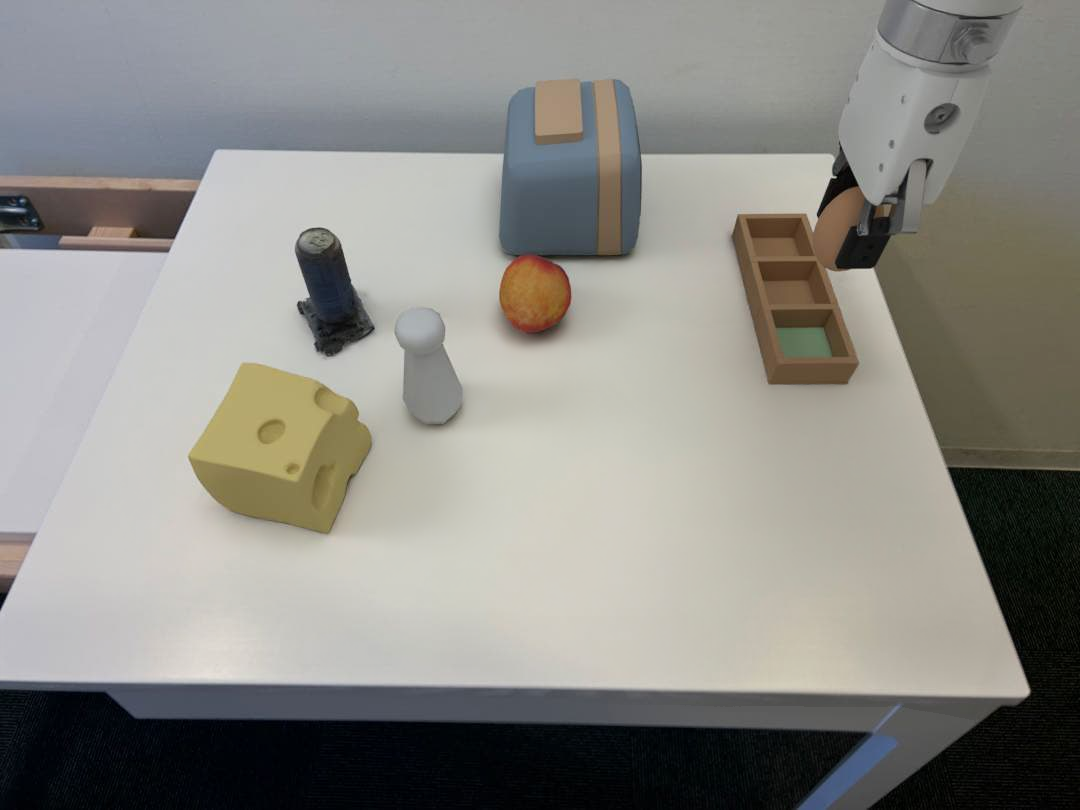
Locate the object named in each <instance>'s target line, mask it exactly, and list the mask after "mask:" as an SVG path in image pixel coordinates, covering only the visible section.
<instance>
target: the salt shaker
mask: <svg viewBox="0 0 1080 810" xmlns="http://www.w3.org/2000/svg"><path fill="white" fill-rule="evenodd" d="M394 335H395V339H396V340H397V342H398V344H399V347H400V348H401V349H402V350H403V355H404V356H403V381H402V383H403V384H402V385H403V386H402V387H403V388H402V400H403V402H404V404H405V406H406V408H407V410H408V412H409V413H410V414H412V415H413V416H415V417H416V418H417V419H418V420H420V421H421V422H423V423H424V424H425V425H429V424H431V425H434V424H435V425H444V424H445V423H447V421H449V420H450V419H451V418H452V417H453V416H454V415H455V414H457V412H458V410H459V408H460V406H461V404H462V403H463V395H464V394H463V393H464V388H463V385H462V384H461V381H460V380H459V378H458V375H457V373H456V370H455V368H454V366H453V363H452V362H451V360H450V357H449V355H448V353H447V350H446V348H445V346H444V344H443V343H444V342H445V339H446V338H445V337H446V325H445V322H444V320H443V318H442V316H441V314H440V313H439V312H437V311H436V310H434V309H432V308H430V307H425V306H418V307H412V308H410V309H407V310H405V311H404V312H402V313H401V314H400V316H398V317H397V318H396V321H395V325H394Z"/></svg>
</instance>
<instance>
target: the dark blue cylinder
mask: <svg viewBox="0 0 1080 810" xmlns="http://www.w3.org/2000/svg"><path fill="white" fill-rule="evenodd" d="M294 244H295V245H294V253H295V257H296V259H297V262H298V267H299V269H300V272H301V276H302V278H303V281H304V283H305V287H306V290H307V294H308V296H309V297H306V298H305V300H297V303H296V307H297V310H298V312H299V314H301V316H304V317H305V319H306V321H307V324H308V326H309V328H310V330H311V331H312V334H313V337H314V339H315V342H314V343H313V345H314V347H315V350H316V352H318V353H319V352H321V353H320V354H321V355H323V356H324V354H325V355H329V356H333V355H334V354H337V353H338V352H339V351H340V350H343V344H342V342H343V341H346V340H347V339H349V342H353V341H358V340H359V339H362V338H363V337H364V336H365V335H367V334H368V333H369V332H371V331H372V330H376V329H375V325H374V324H373V322H372V320H371V318H370V316H369V314H368V313H367V311H366V309H365V308H364V305H363V303H362V299H361V298H360V296H359V294H358V291H356V289H355V286H354V285H353V284H352V279H351V276H350V272H349V267H348V265H347V262H346V257H345V253H344V249H343V246H342V243H341V240H340V239H339V238H338V236H337V235H336V234H335V233H333V232H332V231H331V230H330V229H328V228H325V227H321V226H320V227H319V226H318V227H310V228H307V229H305V230H304V231H302V232H301V233H299V237H298V238H297V239H296V242H295V243H294ZM338 338H339V339H338ZM352 340H353V341H352ZM321 349H322V350H321Z"/></svg>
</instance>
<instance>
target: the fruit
mask: <svg viewBox="0 0 1080 810" xmlns="http://www.w3.org/2000/svg"><path fill="white" fill-rule="evenodd" d="M499 285H500V286H499V290H498V291H499V292H498V295H499V300H498V301H499V303H500V307H501V310H502V312H503V313H504V316H505V318H506V319H507V321H508V322H509V323H510V324H511V325H512V326H513V327H514V328H515V329H517V330H519V331H520V332H524V333H537V332H540V331H543V330H546V329H549V328H551V327H553V326H554V325H556V324H557V323H559V322H560V321H561V320H562V319H563V318H564V317H565V315H566V314H567V313H568V310H569V308H570V306H571V303H572V287H571V283H570V279H569V276H568V275H567V272H566V271H565V270H564V267H562V266H561V265H560V264H557V263H556V262H554V261H552V260H550V259H547V258H545V257H542V256H540V255H533V254H525V255H518V256H517V257H516V258H514V259H513V260H512V261H511V262H510V264H508V265H507V266H506V268H505V270H504V272H503V275H502V277H501V281H500V284H499Z"/></svg>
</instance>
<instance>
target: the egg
mask: <svg viewBox="0 0 1080 810" xmlns="http://www.w3.org/2000/svg"><path fill="white" fill-rule="evenodd" d="M864 198H865V196H864V194H863V193H862V191H861V189H860V187H859V186H857V187H853V188H850V189H847V190H845V191H844V192H842V193H841V194H839V195H838V196H837V197H836V198H834V199H833V200H832V201H831V202H830V203H829V204H828V205H827V206H826V208H825V209H824V211H823V212H822V213H821V215H820V217H819V219H818V218H817V221H816V223H815V225H814V230H813V238H812V241H813V249H814V253H815V256H816V258H817V259H818V261H819V262H820V264H821V265H822V266H824V267H825V268H826V270H829V271H831V272H846V271H851V269H837V268H836V265H835V260H836V258H837V256H838V254H839V251H840V249H841V247H842V245H843V243H844V240H845V238H846V236H847V234H848V231H849V229H850V227H851V226H857V224H858V220H859V216H860V213H861V209H862V206H863V202H864ZM878 217H885V205H878V206H877V208H876V211H875V215H874V218H878Z"/></svg>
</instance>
